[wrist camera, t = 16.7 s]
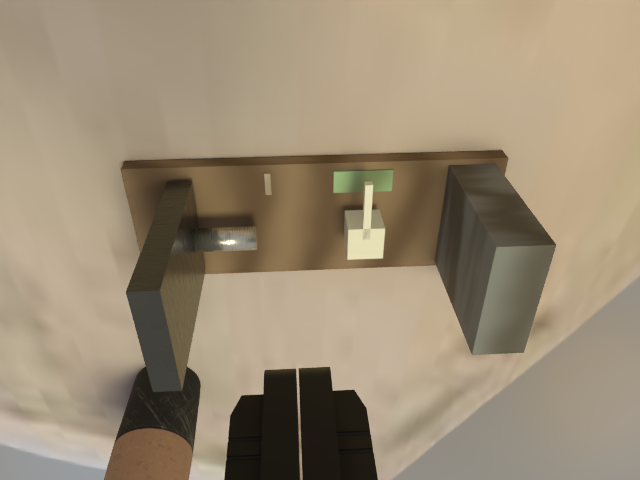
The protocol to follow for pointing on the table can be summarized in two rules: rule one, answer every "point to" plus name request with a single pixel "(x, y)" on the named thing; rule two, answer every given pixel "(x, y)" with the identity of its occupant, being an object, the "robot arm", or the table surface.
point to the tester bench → (398, 217)
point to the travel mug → (156, 432)
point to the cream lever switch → (364, 230)
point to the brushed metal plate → (175, 282)
